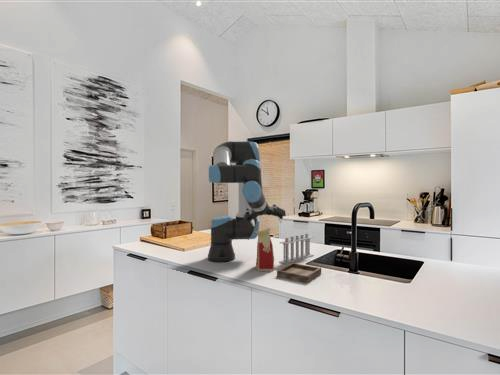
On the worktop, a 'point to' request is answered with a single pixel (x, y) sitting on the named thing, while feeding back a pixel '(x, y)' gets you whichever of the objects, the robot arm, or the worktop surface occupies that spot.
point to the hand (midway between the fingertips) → (267, 222)
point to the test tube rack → (286, 248)
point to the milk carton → (264, 251)
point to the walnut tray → (299, 272)
